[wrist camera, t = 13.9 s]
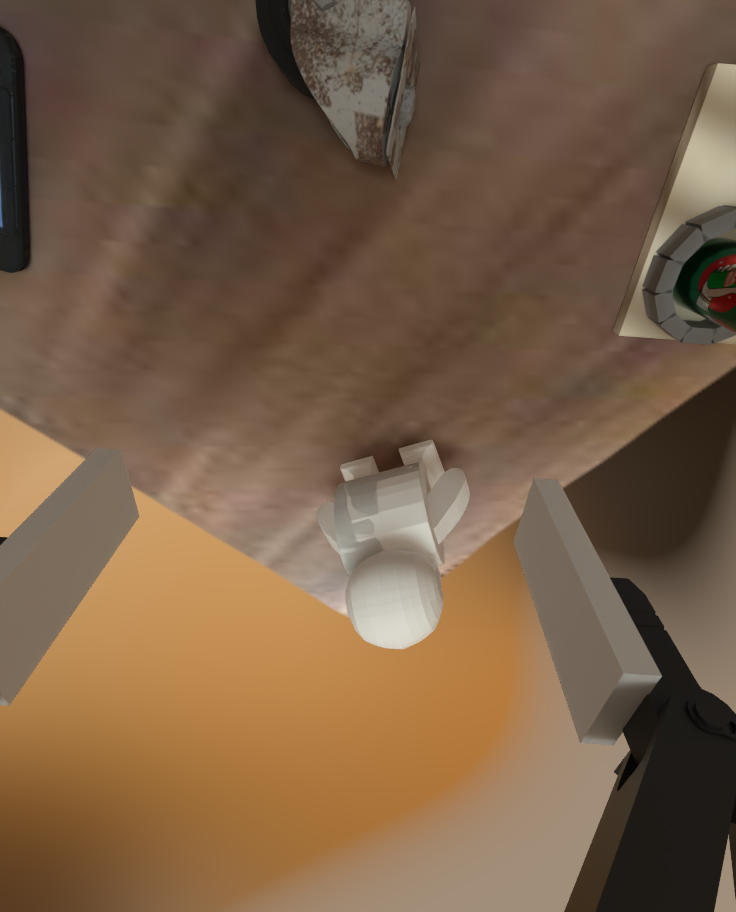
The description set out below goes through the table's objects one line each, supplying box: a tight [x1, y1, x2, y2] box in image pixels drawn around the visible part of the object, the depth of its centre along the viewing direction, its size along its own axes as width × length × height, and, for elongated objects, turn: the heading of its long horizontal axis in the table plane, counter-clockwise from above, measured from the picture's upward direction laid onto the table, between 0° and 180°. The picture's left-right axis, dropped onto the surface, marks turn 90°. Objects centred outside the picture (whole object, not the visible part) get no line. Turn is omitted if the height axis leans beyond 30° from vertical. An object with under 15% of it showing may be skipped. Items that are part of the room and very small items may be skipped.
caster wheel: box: [256, 0, 420, 180], centre depth 27 cm, size 7×11×10 cm
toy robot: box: [316, 439, 470, 649], centre depth 38 cm, size 14×9×20 cm, turn 109°
